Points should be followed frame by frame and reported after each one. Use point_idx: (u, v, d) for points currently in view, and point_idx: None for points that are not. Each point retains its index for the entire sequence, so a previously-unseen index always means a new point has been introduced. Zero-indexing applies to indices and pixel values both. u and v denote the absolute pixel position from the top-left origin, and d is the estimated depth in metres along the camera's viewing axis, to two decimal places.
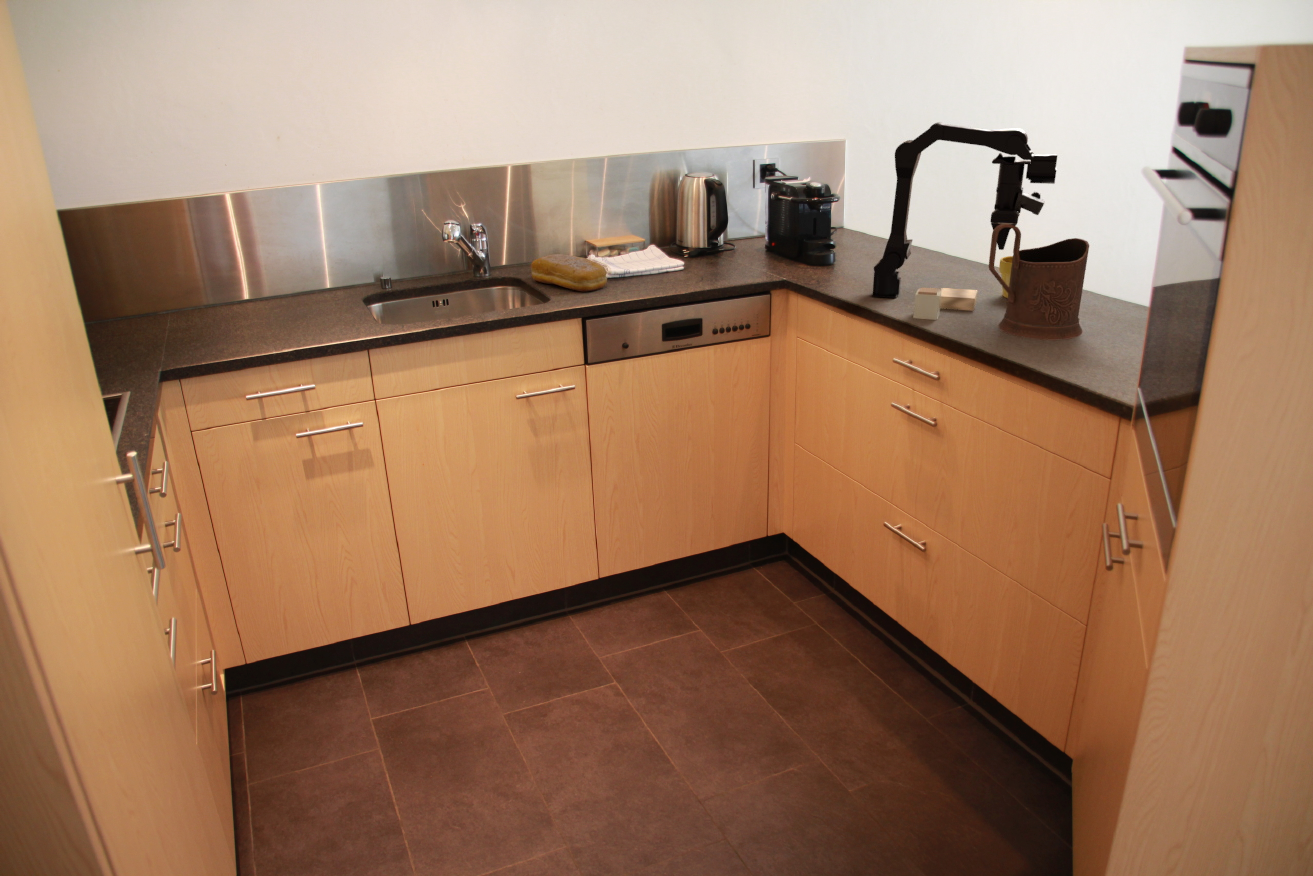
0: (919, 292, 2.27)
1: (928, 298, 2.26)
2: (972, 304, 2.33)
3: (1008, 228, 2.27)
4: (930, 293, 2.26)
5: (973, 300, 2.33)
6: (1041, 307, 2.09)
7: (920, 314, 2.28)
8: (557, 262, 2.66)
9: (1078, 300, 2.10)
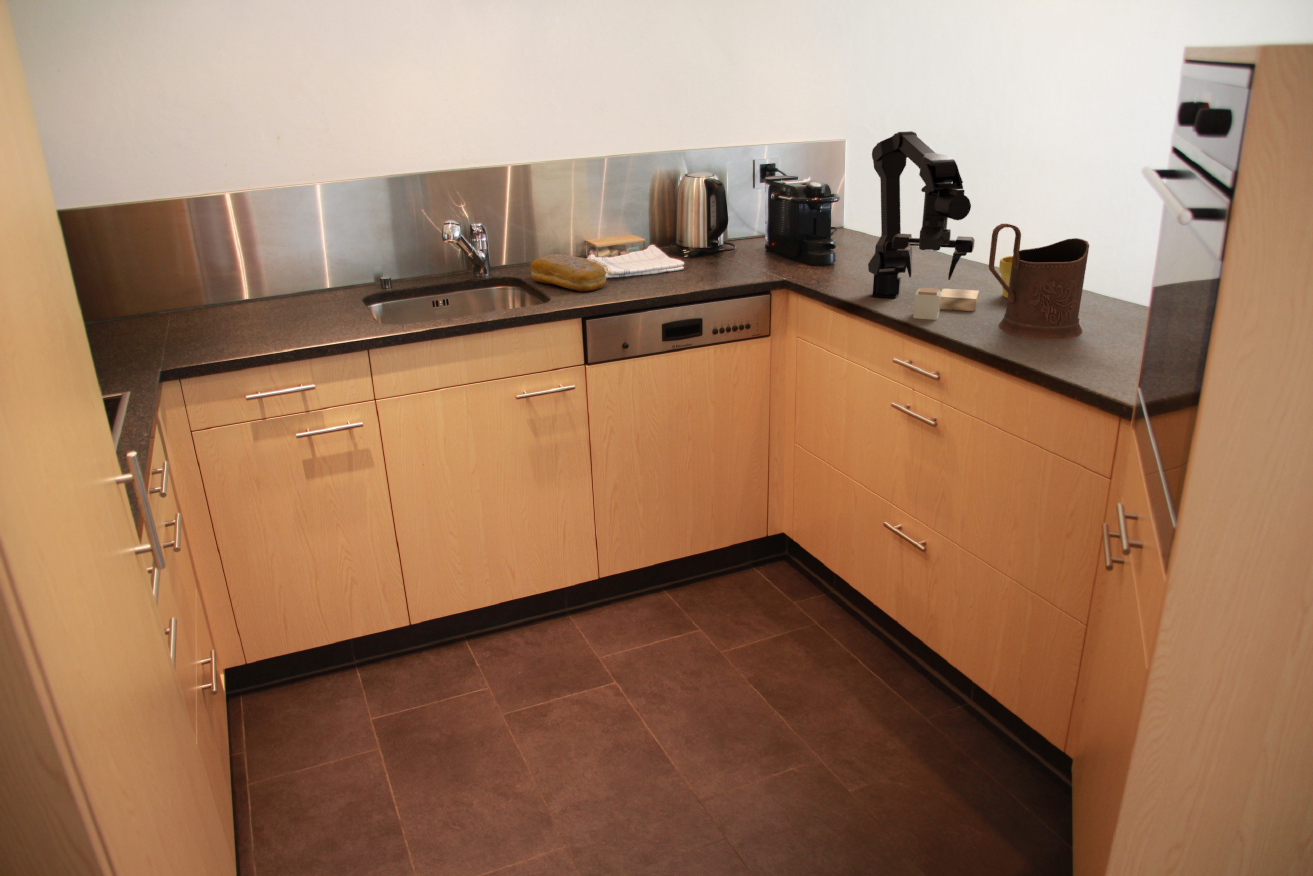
0: (919, 292, 2.27)
1: (928, 298, 2.26)
2: (973, 304, 2.33)
3: None
4: (930, 293, 2.26)
5: (974, 300, 2.33)
6: (1041, 307, 2.09)
7: (920, 314, 2.28)
8: (556, 262, 2.66)
9: (1078, 300, 2.10)
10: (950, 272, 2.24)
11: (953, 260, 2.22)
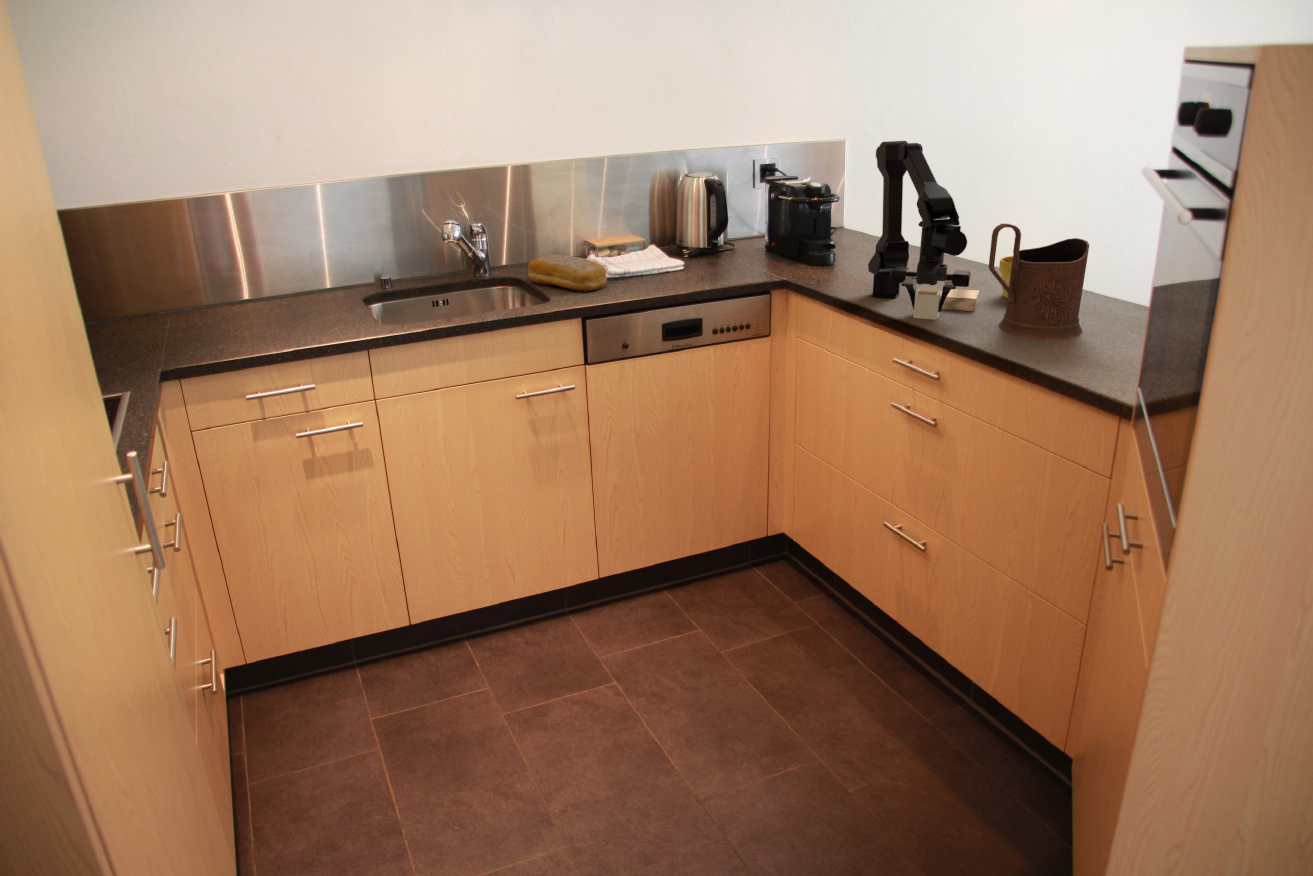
0: (919, 292, 2.27)
1: (928, 297, 2.26)
2: (973, 304, 2.33)
3: None
4: (930, 293, 2.26)
5: (974, 300, 2.32)
6: (1041, 307, 2.09)
7: (920, 314, 2.28)
8: (556, 263, 2.66)
9: (1078, 300, 2.10)
10: (940, 305, 2.27)
11: (943, 293, 2.25)
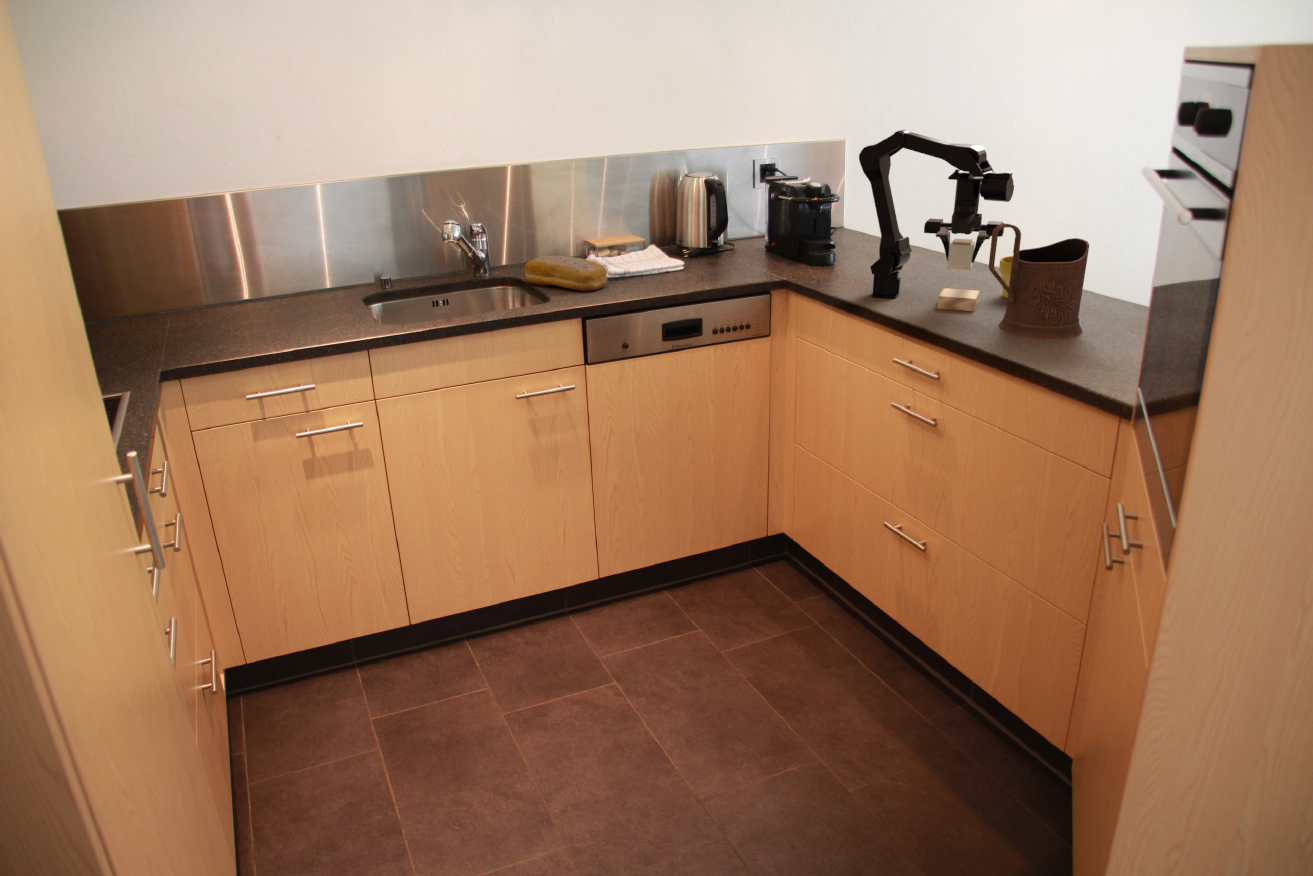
0: (953, 242, 2.32)
1: (962, 248, 2.31)
2: (973, 305, 2.33)
3: None
4: (964, 243, 2.31)
5: (974, 301, 2.32)
6: (1041, 307, 2.09)
7: (954, 264, 2.33)
8: (556, 263, 2.65)
9: (1078, 300, 2.10)
10: (974, 255, 2.32)
11: (977, 243, 2.30)
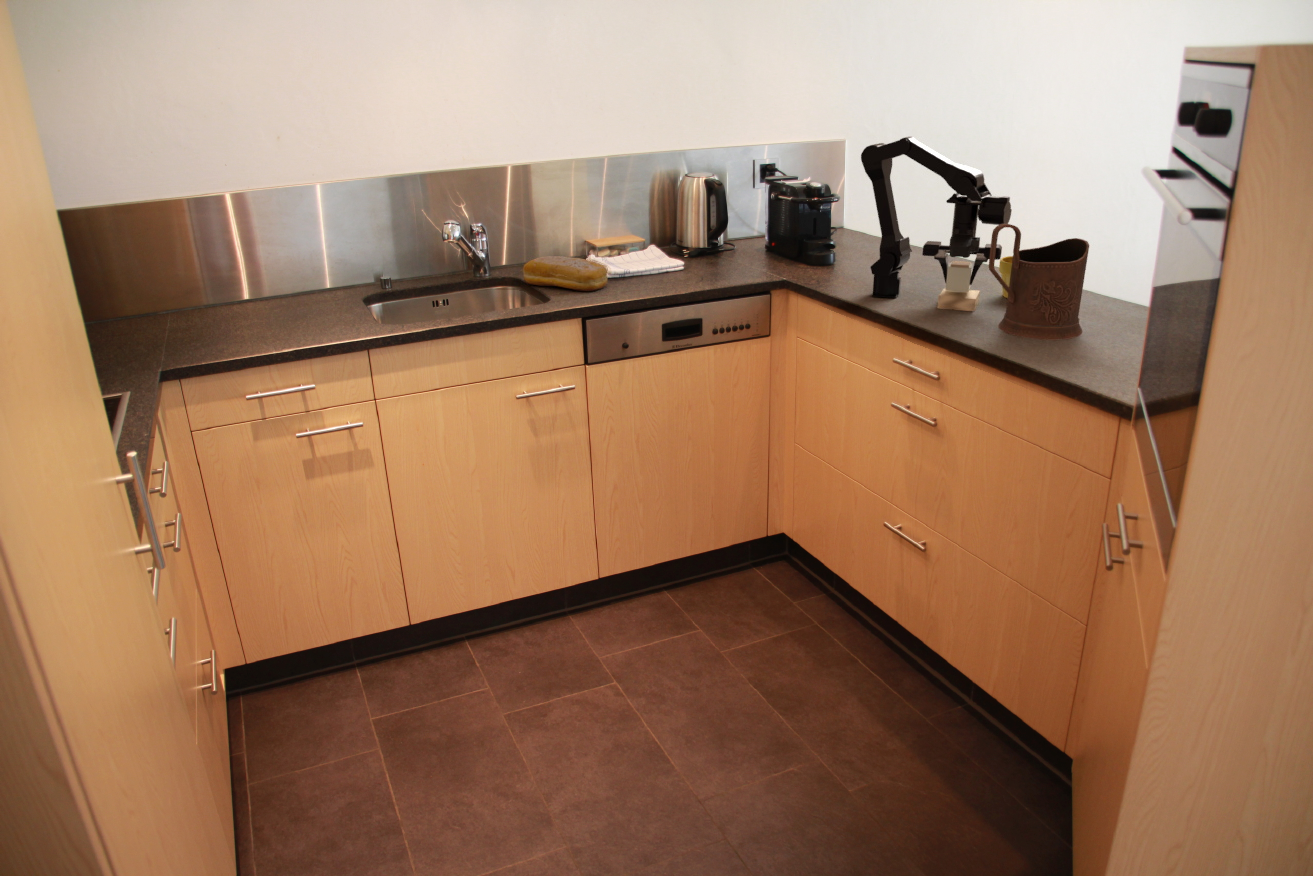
0: (951, 265, 2.34)
1: (960, 270, 2.33)
2: (973, 305, 2.33)
3: None
4: (962, 266, 2.33)
5: (974, 301, 2.32)
6: (1041, 307, 2.09)
7: (952, 286, 2.35)
8: (556, 263, 2.65)
9: (1078, 300, 2.10)
10: (972, 277, 2.35)
11: (975, 266, 2.33)
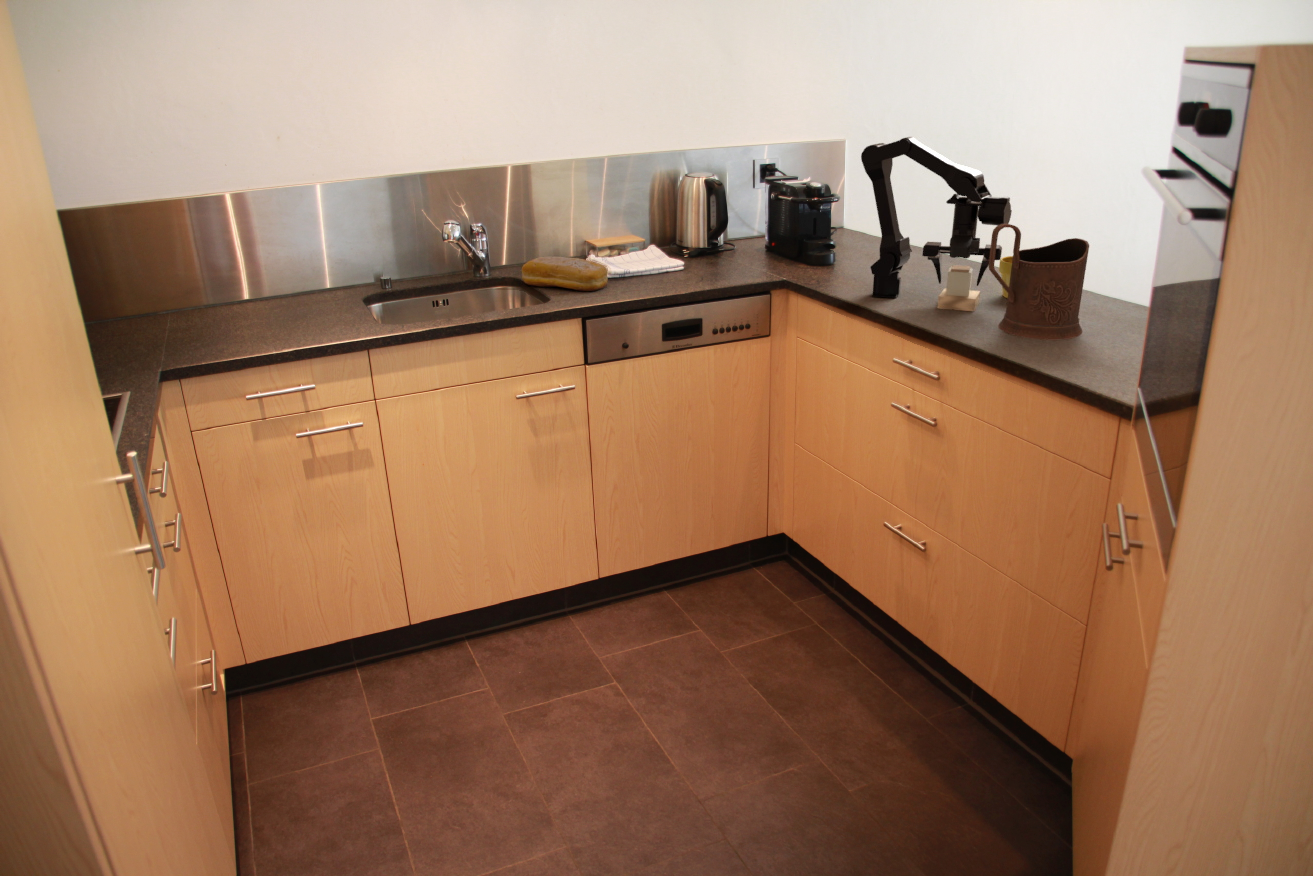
0: (952, 269, 2.34)
1: (960, 275, 2.33)
2: (973, 305, 2.33)
3: None
4: (962, 270, 2.33)
5: (974, 301, 2.32)
6: (1041, 307, 2.09)
7: (953, 291, 2.36)
8: (556, 264, 2.64)
9: (1078, 300, 2.10)
10: (978, 278, 2.34)
11: (982, 267, 2.32)
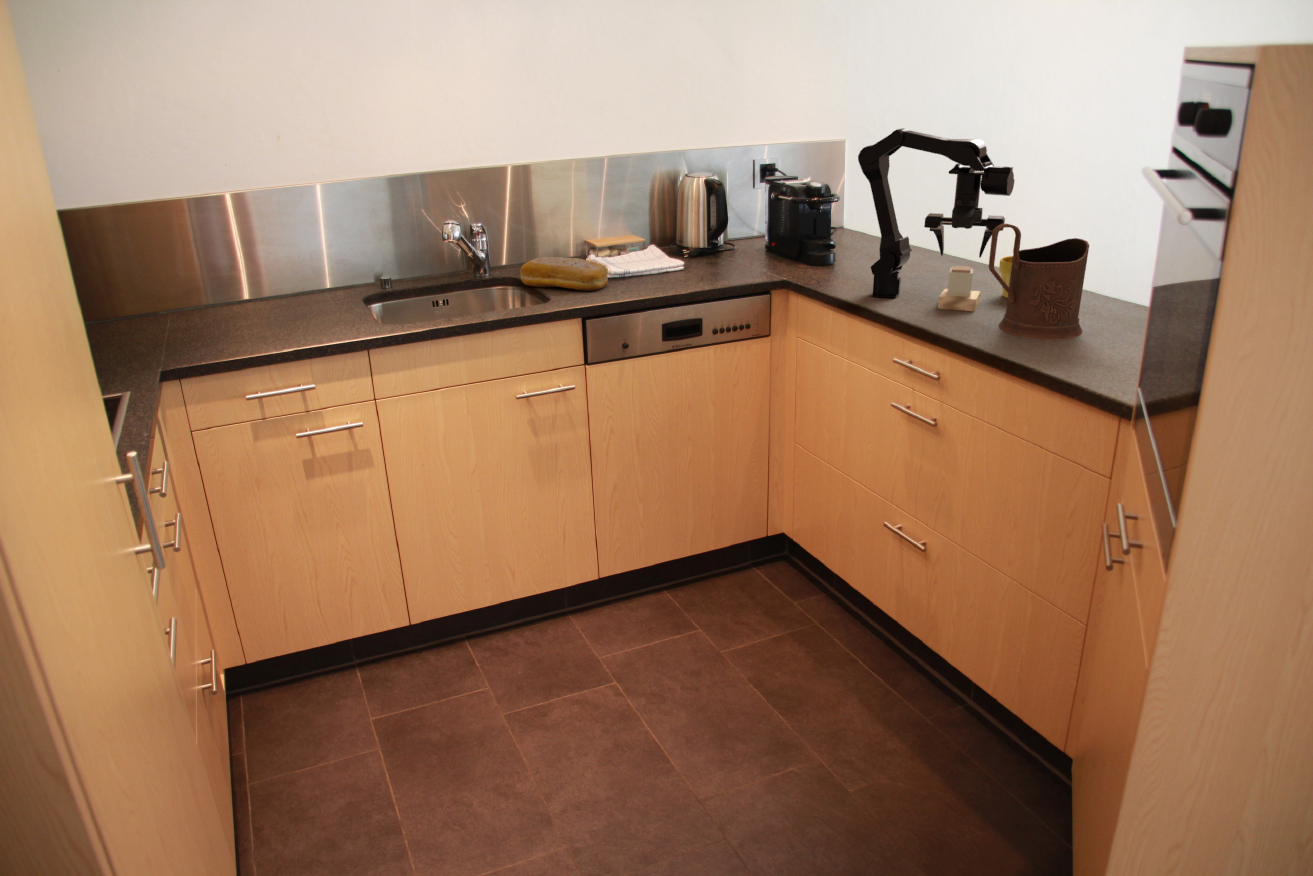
0: (953, 270, 2.34)
1: (962, 275, 2.33)
2: (973, 305, 2.33)
3: None
4: (964, 271, 2.33)
5: (974, 301, 2.32)
6: (1041, 307, 2.09)
7: (954, 292, 2.35)
8: (556, 264, 2.64)
9: (1078, 300, 2.10)
10: (981, 250, 2.32)
11: (984, 238, 2.30)
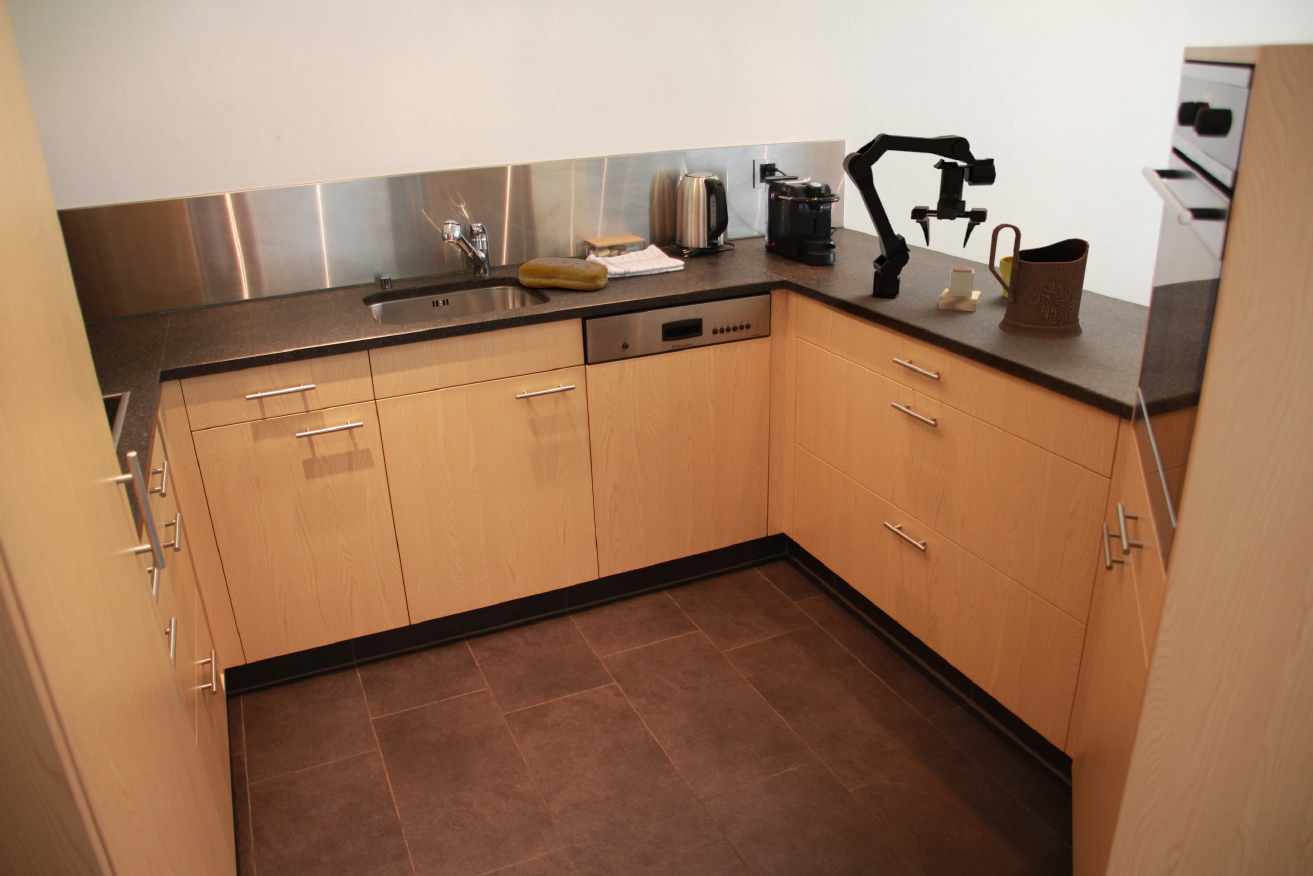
0: (954, 270, 2.34)
1: (963, 275, 2.33)
2: (974, 305, 2.33)
3: None
4: (965, 271, 2.33)
5: (975, 301, 2.32)
6: (1041, 307, 2.09)
7: (956, 292, 2.35)
8: (556, 265, 2.63)
9: (1078, 300, 2.10)
10: (965, 241, 2.42)
11: (968, 229, 2.41)
